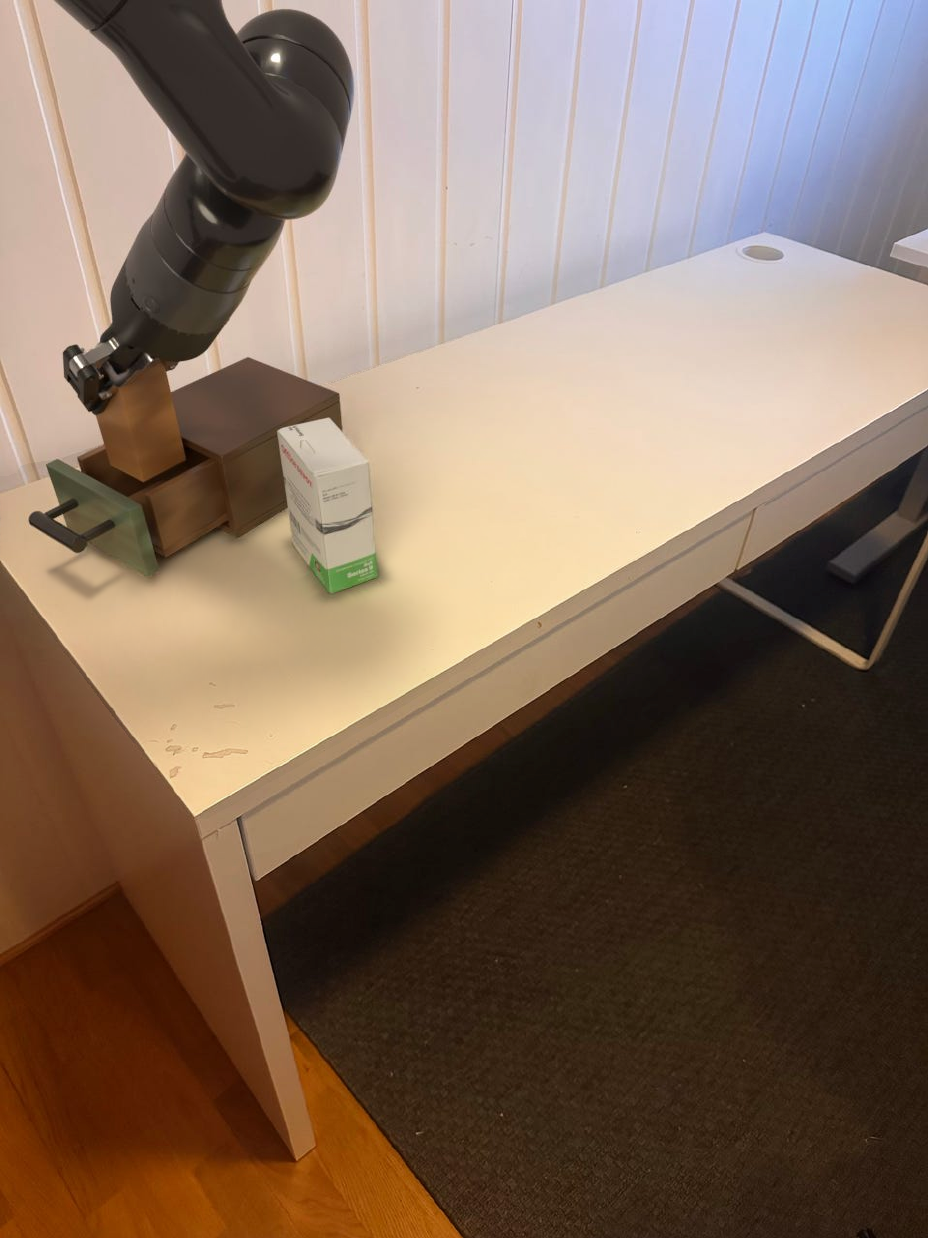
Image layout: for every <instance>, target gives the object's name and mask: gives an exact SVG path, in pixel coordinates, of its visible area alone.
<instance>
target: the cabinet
mask: <svg viewBox="0 0 928 1238" xmlns="http://www.w3.org/2000/svg"><path fill="white" fill-rule="evenodd" d="M171 395H172V399H173V404H174V408H175V412H176V417H177V421H178V426H179V430H180V435H181V439H182V443H183V445H185V446H187V447H189V448H191V449H193V450H195V451H197V452H199V453H201V454H203V455H205V456H207V457H209V458H212V459H214V460H216V461H218V462H217V464H218V469H219V474H220V479H221V484H222V489H223V494H224V499H225V505H226V510H227V515H228V521H226V522H225V523H223V524H221V525H220V526H218V527H216V528H217V529H219V530H221V531H223V532H225V533H227V534H228V535H231V536H232V537H234V538H236V539H238V538H240V537H242V536H243V535H245V534H246V533H248V532H249V531H251V530H253V529H254V528H256V527H257V526H259V525H261V524H262V523H264V522H266V521H267V520H269V519H271V518H272V517H274V516H276V515H277V514H279V513H280V512H282V511H283V510H285V509H288V505H287V498H286V490H285V483H284V476H283V469H282V463H281V455H280V448H279V441H278V434H277V431H278V430H280V429H281V428H284V427H288V426H293V425H297V424H302V423H307V422H311V421H316V420H320V419H325V418H330V419H331V420H332V421H333V422H334V423H335V424H336V426H337V427H338V428H339V429H340V430H341V431H342V432H343V433H344V430H343V421H342V408H341V407H342V406H341V395H340V393H339V392H337V391H335V390H332V389H330V388H327V387H324V386H322V385H319V384H317V383H315V382H312V381H309V380H307V379H304V378H302V377H299V376H296V375H294V374H292V373H289V372H287V371H284V370H281V369H279V368H277V367H274V366H272V365H270V364H267V363H264V362H262V361H259V360H257V359H254V358H252V357H250V356H247V357H244V358H241V359H239V360H238V361H236V362H234V363H231V364H229V365H227V366H225V367H223V368H220V369H218V370H216V371H214V372H212V373H210V374H207V375H205V376H203V377H201V378H199V379H197V380H195V381H192V382H190V383H188V384H185V385H184V386H182V387H179V388H177V389H174V390H173V391H171Z"/></svg>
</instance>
